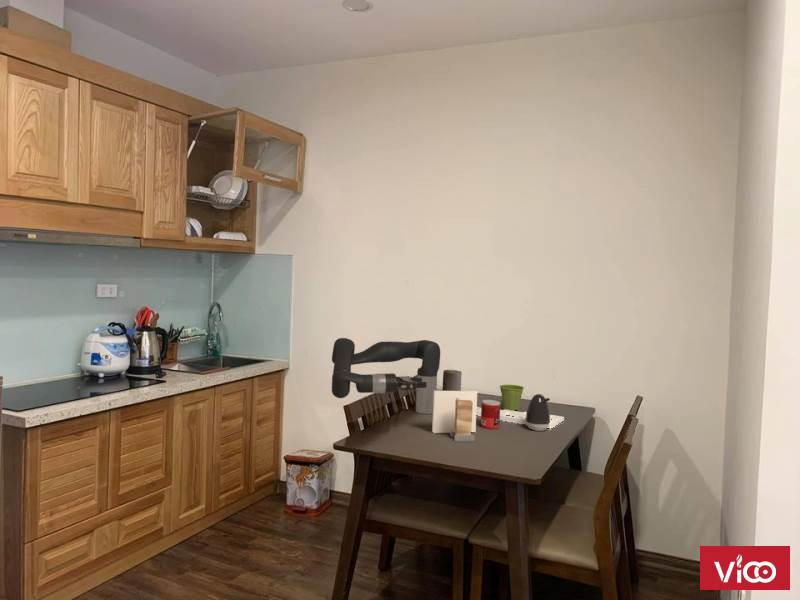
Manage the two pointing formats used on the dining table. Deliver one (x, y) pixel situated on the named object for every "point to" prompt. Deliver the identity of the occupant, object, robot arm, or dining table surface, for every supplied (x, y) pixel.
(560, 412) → the dining table surface
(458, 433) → the tall wooden block
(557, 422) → the holder
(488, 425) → the canned food
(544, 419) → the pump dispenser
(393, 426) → the dining table surface
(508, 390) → the plant pot
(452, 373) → the pillar candle
